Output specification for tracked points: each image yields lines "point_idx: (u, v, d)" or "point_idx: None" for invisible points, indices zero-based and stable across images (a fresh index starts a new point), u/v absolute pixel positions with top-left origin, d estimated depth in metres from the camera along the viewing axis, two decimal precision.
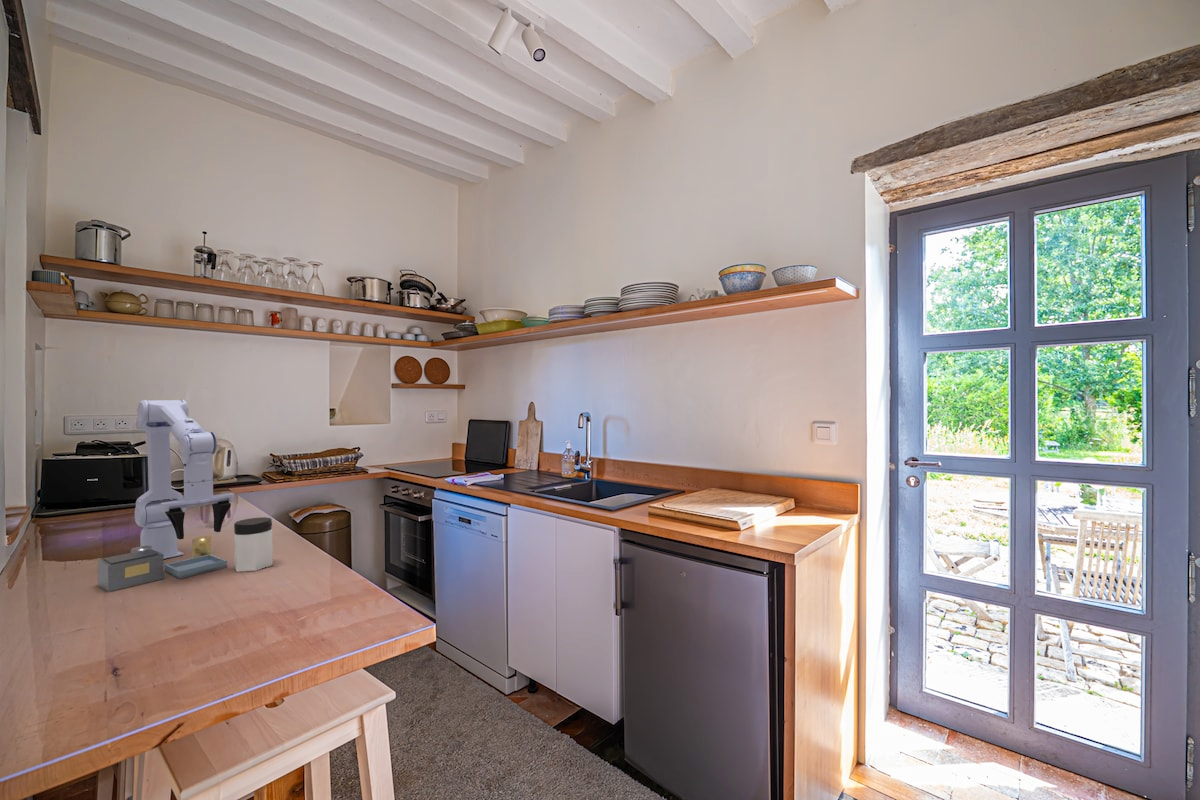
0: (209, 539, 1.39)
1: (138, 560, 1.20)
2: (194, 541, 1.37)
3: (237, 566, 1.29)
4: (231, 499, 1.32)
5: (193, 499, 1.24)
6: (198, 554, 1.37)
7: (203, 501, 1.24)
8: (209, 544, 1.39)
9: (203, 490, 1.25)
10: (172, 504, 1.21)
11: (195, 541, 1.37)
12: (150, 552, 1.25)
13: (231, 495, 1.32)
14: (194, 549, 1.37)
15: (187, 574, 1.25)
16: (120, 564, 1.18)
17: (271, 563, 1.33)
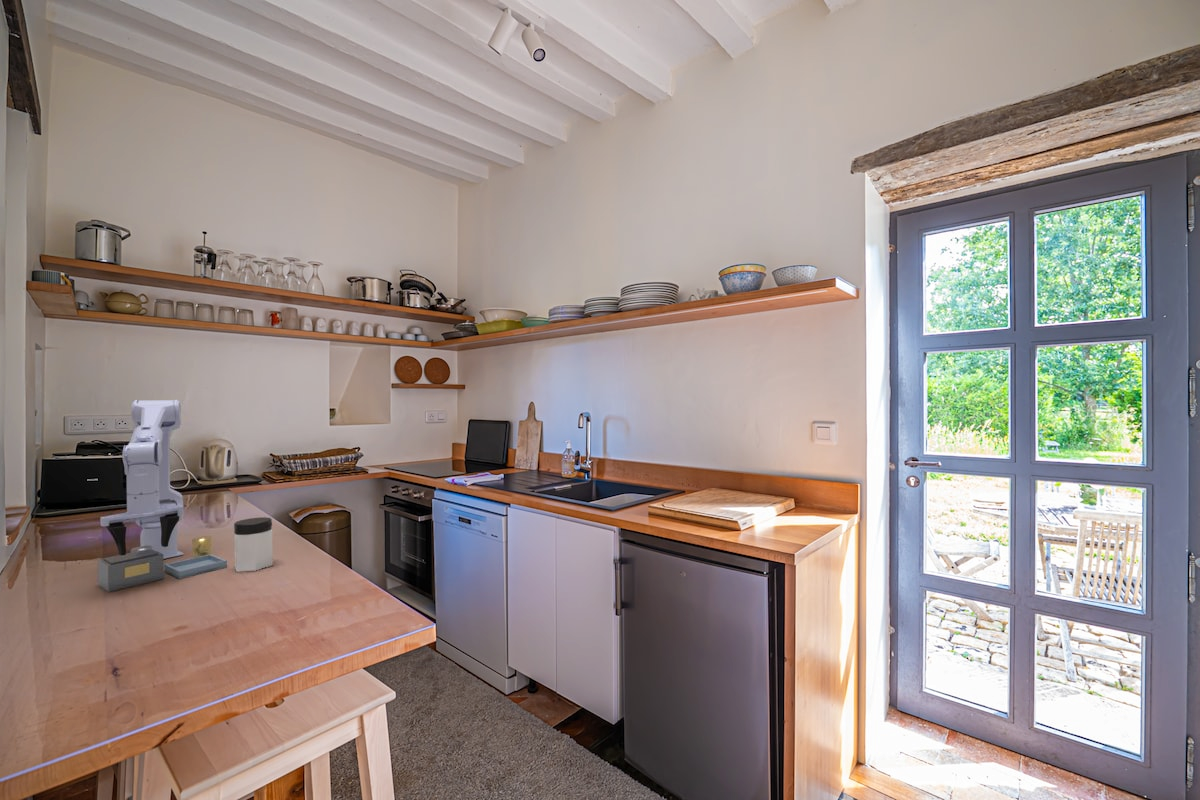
0: (209, 539, 1.39)
1: (138, 560, 1.20)
2: (194, 541, 1.37)
3: (237, 566, 1.29)
4: (180, 512, 1.25)
5: (136, 513, 1.17)
6: (198, 554, 1.37)
7: (147, 515, 1.17)
8: (209, 544, 1.39)
9: (148, 503, 1.18)
10: (113, 518, 1.14)
11: (195, 541, 1.37)
12: (150, 552, 1.25)
13: (180, 507, 1.25)
14: (194, 549, 1.37)
15: (187, 574, 1.25)
16: (120, 564, 1.18)
17: (271, 563, 1.33)
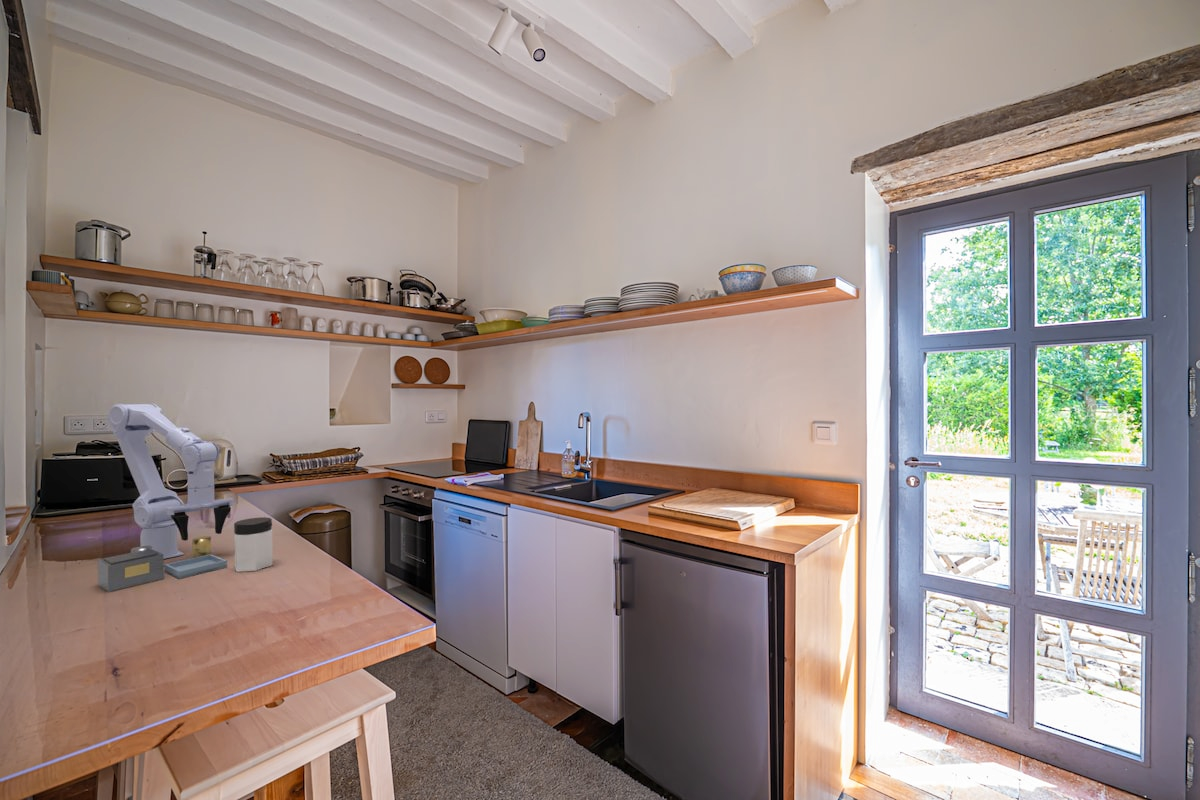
0: (209, 539, 1.39)
1: (138, 560, 1.20)
2: (194, 541, 1.37)
3: (237, 566, 1.29)
4: (231, 503, 1.44)
5: (196, 504, 1.36)
6: (198, 554, 1.37)
7: (205, 505, 1.36)
8: (209, 544, 1.39)
9: (205, 495, 1.37)
10: (177, 508, 1.33)
11: (195, 541, 1.37)
12: (150, 552, 1.25)
13: (231, 500, 1.44)
14: (194, 549, 1.37)
15: (187, 574, 1.25)
16: (120, 564, 1.18)
17: (271, 563, 1.33)
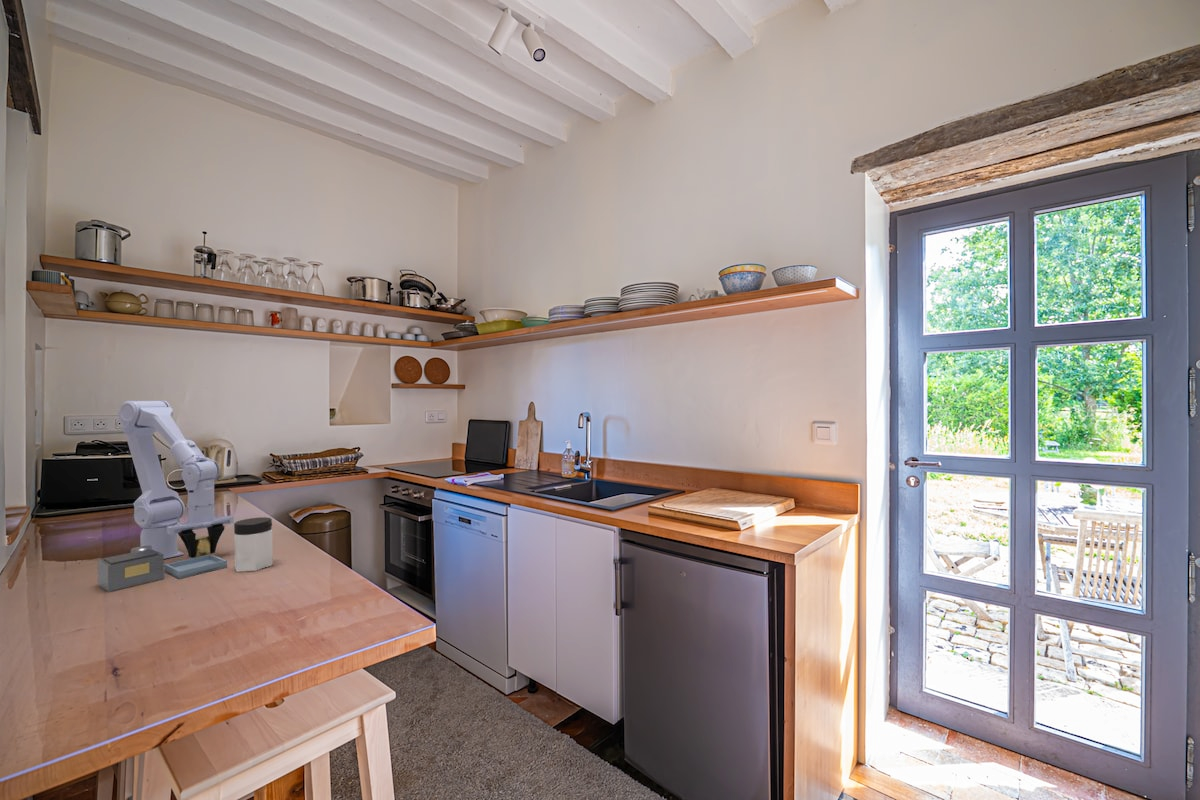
0: (209, 539, 1.39)
1: (138, 560, 1.20)
2: None
3: (237, 566, 1.29)
4: (231, 521, 1.44)
5: (196, 522, 1.36)
6: (198, 554, 1.37)
7: (205, 524, 1.36)
8: (209, 544, 1.39)
9: (206, 514, 1.37)
10: (177, 527, 1.33)
11: (195, 540, 1.37)
12: (150, 552, 1.25)
13: (231, 517, 1.44)
14: None
15: (187, 574, 1.25)
16: (120, 564, 1.18)
17: (271, 563, 1.33)
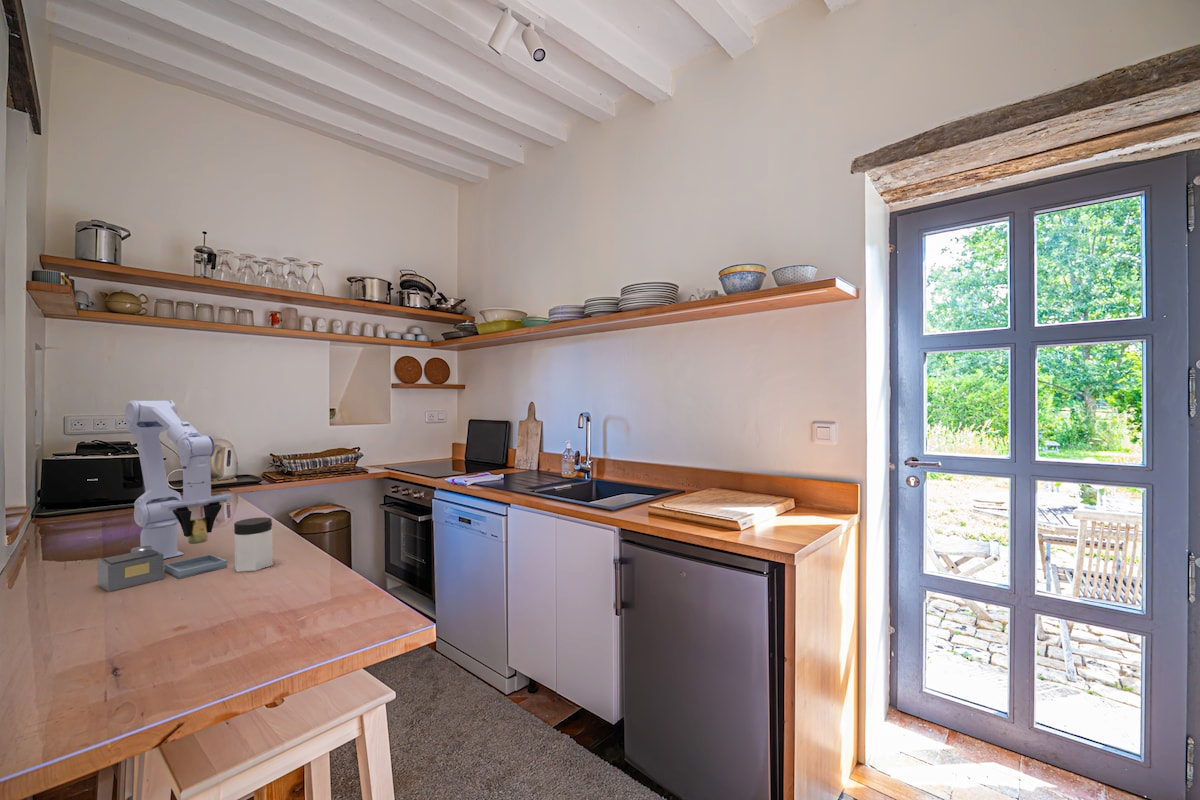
0: (205, 520, 1.33)
1: (138, 560, 1.20)
2: None
3: (237, 566, 1.29)
4: (228, 500, 1.38)
5: (192, 500, 1.30)
6: (193, 535, 1.31)
7: (201, 501, 1.31)
8: (205, 525, 1.33)
9: (202, 491, 1.32)
10: (172, 504, 1.28)
11: (190, 521, 1.31)
12: (150, 552, 1.25)
13: (228, 496, 1.38)
14: None
15: (187, 574, 1.25)
16: (120, 564, 1.18)
17: (271, 563, 1.33)
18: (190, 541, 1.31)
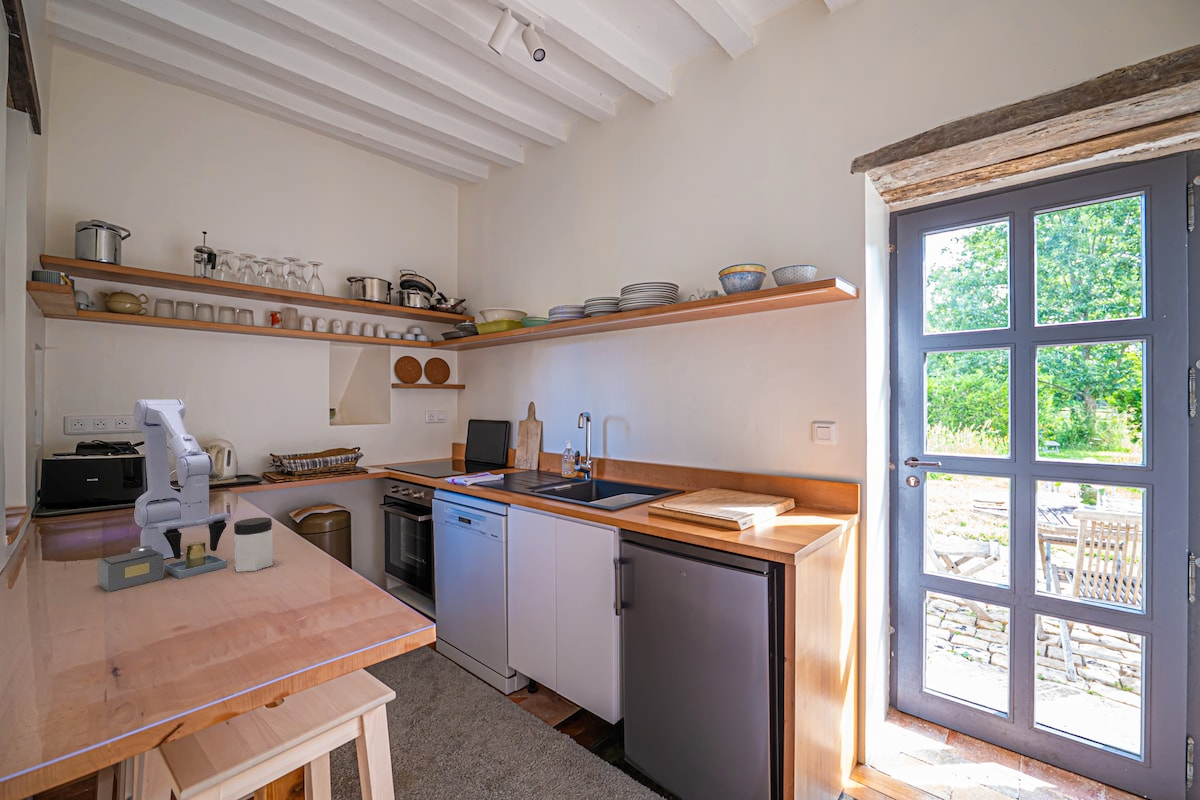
0: (203, 545, 1.31)
1: (138, 560, 1.20)
2: (187, 547, 1.29)
3: (237, 566, 1.29)
4: (227, 519, 1.36)
5: (190, 520, 1.28)
6: (191, 561, 1.29)
7: (199, 522, 1.28)
8: (203, 550, 1.31)
9: (200, 511, 1.29)
10: (169, 525, 1.25)
11: (188, 546, 1.29)
12: (150, 552, 1.25)
13: (227, 515, 1.36)
14: (187, 555, 1.29)
15: (187, 574, 1.25)
16: (120, 564, 1.18)
17: (271, 563, 1.33)
18: (187, 567, 1.29)
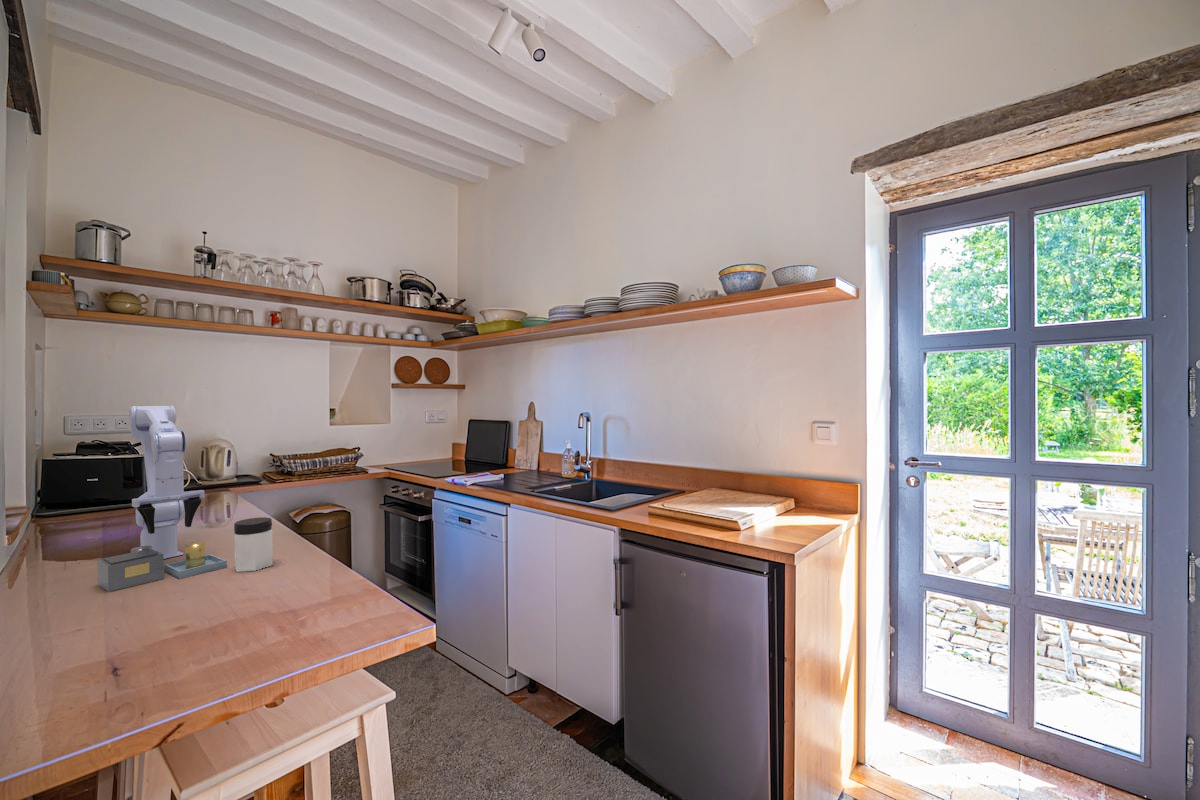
0: (202, 545, 1.31)
1: (138, 560, 1.20)
2: (186, 547, 1.29)
3: (237, 566, 1.29)
4: (202, 495, 1.37)
5: (163, 495, 1.30)
6: (191, 561, 1.29)
7: (173, 497, 1.30)
8: (203, 550, 1.31)
9: (173, 487, 1.31)
10: (143, 500, 1.27)
11: (188, 546, 1.29)
12: (150, 552, 1.25)
13: (202, 492, 1.37)
14: (187, 555, 1.29)
15: (187, 574, 1.25)
16: (120, 564, 1.18)
17: (271, 563, 1.33)
18: (187, 567, 1.29)
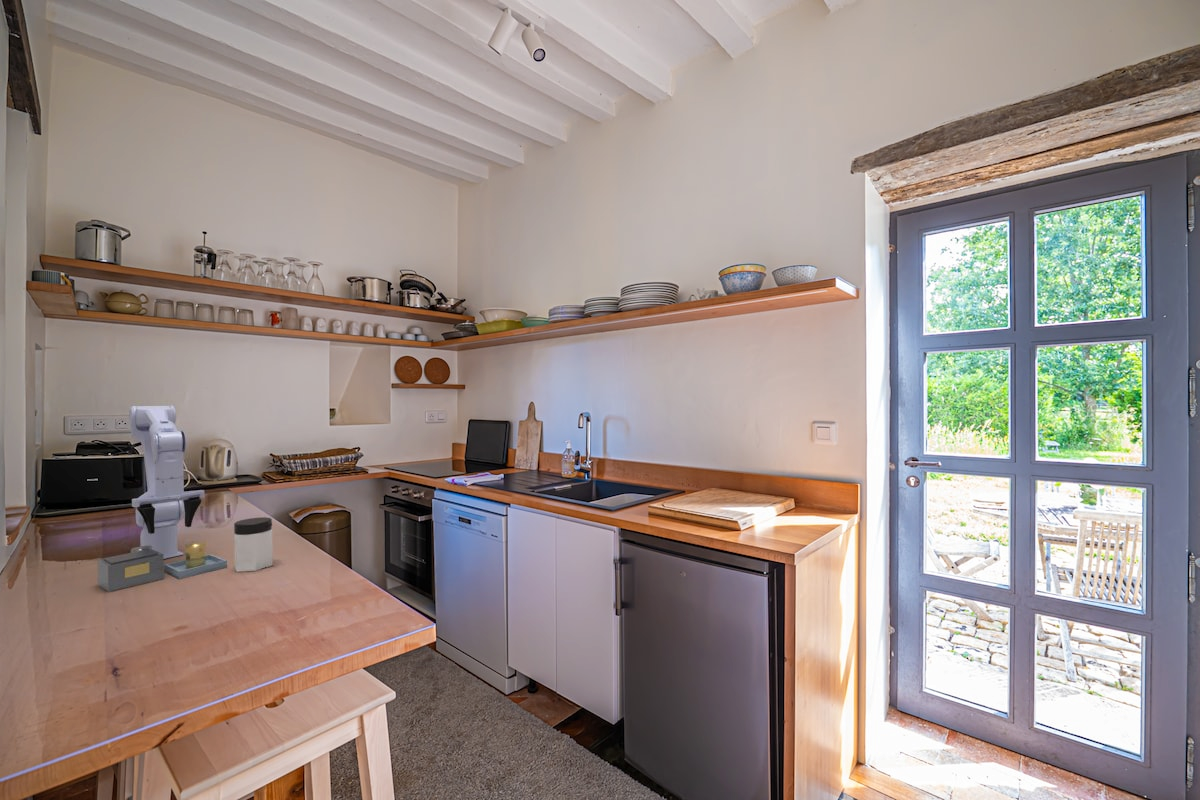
0: (203, 545, 1.31)
1: (138, 560, 1.20)
2: (187, 547, 1.29)
3: (237, 566, 1.29)
4: (202, 495, 1.37)
5: (163, 495, 1.30)
6: (191, 561, 1.29)
7: (173, 497, 1.30)
8: (203, 550, 1.31)
9: (173, 487, 1.31)
10: (143, 500, 1.27)
11: (188, 546, 1.29)
12: (150, 552, 1.25)
13: (202, 492, 1.37)
14: (187, 555, 1.29)
15: (187, 574, 1.25)
16: (120, 564, 1.18)
17: (271, 563, 1.33)
18: (187, 567, 1.29)
